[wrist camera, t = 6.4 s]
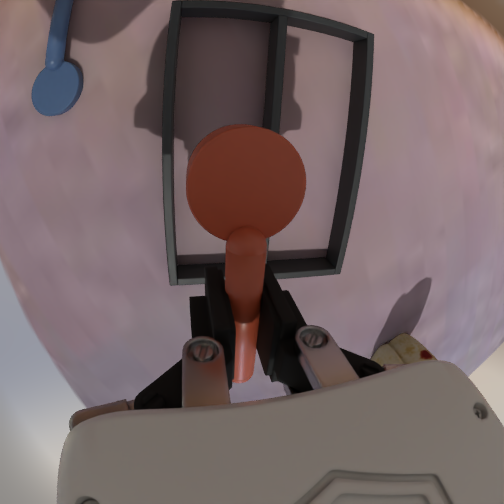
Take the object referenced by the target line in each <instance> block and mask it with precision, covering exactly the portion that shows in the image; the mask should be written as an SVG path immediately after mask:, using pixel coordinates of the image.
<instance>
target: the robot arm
mask: <svg viewBox="0 0 504 504" xmlns="http://www.w3.org/2000/svg"><path fill="white" fill-rule="evenodd" d="M189 298H190V316H191V331H192V339H190V340H189V341H187V342H186V343H185V345H184V346H183V350H182V359H181V360H180V361H179V362H177V363H176V364H175V365H174V366H173V367H171V368H170V369H169V370H168V371H166V372H165V373H164V374H163V375H161V376H160V377H159V378H158V379H156V380H155V381H154V382H153V383H151V384H150V385H149V386H148V387H146V388H145V389H144V390H143V391H141V392H140V393H139V394H138V395H137V396H136V398H135V400H131V401H126V399H124V400H120V401H116V402H113V403H108V404H104V405H100V406H96V407H91V408H87V409H82V410H79V411H77V412H75V413H74V414H73V415H72V416H71V418H70V421H69V428H70V432H69V434H68V436H67V438H66V440H65V443H64V446H63V449H62V453H61V458H60V465H59V472H58V483H57V484H58V485H57V504H504V427H503V425H502V423H501V422H500V420H499V419H498V417H497V416H496V414H495V413H494V411H493V410H492V408H491V407H490V405H489V404H488V403H487V401H486V399H485V398H484V397H483V395H482V394H481V393H480V391H479V390H478V389H477V387H476V386H475V385H474V384H473V382H472V381H471V380H470V379H469V378H468V377H467V375H466V374H465V373H464V372H463V371H462V370H461V369H460V368H458V367H457V366H456V365H455V364H453V363H451V362H447V361H441V360H429V361H420V362H416V363H411V364H383V366H381V365H380V364H378V363H377V362H375V361H373V360H370V359H367V358H365V357H362V356H360V355H357V354H354V353H352V352H349V351H347V350H344V349H342V348H339V346H338V345H337V343H336V342H335V340H334V339H333V337H332V336H331V335H330V333H329V332H328V331H327V330H325V329H324V328H322V327H319V326H314V325H307V324H306V322H305V321H304V319H303V317H302V315H301V313H300V311H299V309H298V308H297V306H296V304H295V302H294V300H293V298H292V296H291V295H290V293H289V291H287V290H284V291H282V289H281V287H280V285H279V283H278V282H277V280H276V278H275V276H274V274H273V272H272V270H271V268H270V266H269V264H265V272H264V282H263V291H262V299H261V308H260V317H259V327H258V336H257V344H256V348H257V351H258V354H259V357H260V361H261V364H262V367H263V370H264V373H265V375H266V376H267V375H269V376H270V379H271V382H275V381H279V382H281V383H283V384H284V385H283V386H284V390H285V393H286V395H287V396H281V397H275V398H269V399H263V400H256V401H249V402H241V403H233V404H231V401H230V394H229V390H230V389H231V388H232V380H234V371H235V345H236V326H235V321H234V317H233V313H232V309H231V305H230V300H229V296H228V294H227V293H226V291H225V280H224V275H223V271H222V269H218V268H217V266H211V267H205V296H195V297H189Z"/></svg>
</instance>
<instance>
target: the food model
mask: <svg viewBox="0 0 504 504" xmlns="http://www.w3.org/2000/svg"><path fill="white" fill-rule="evenodd" d="M371 360H373V361H375V362H377V363H378V364H380V365H381V366H383V364H411V363H416V362H420V361H429V360H437V359H436V358H435V357H434V356H433V355H432V354H431V353H430V352H429V351H428V350H427V349H426V348H425V347H424V346H423V345H422V344H421V343H420V342H418V341H417V340H416V339H414V338H413V337H412V336H410V335H408V334H406V333H402V334H400V335H398V336H397V337H395V338H394V339H393V340H391V341H390V342H389V343H388V344H383V345H382V346H380V347H379V348H378V349H377V351H376V352H375V353H374V355H373V356H372V358H371Z"/></svg>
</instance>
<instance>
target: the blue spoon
mask: <svg viewBox="0 0 504 504" xmlns="http://www.w3.org/2000/svg"><path fill="white" fill-rule="evenodd" d="M73 1H74V0H56V2H55V6H54V10H53V15H52V20H51V25H50V31H49V37H48V44H47V51H46V60H45V66H46V67H45V68H44V69H43V70H42V71H41V72H40V73H39V75H38V76H37V78H36V80H35V82H34V85H33V88H32V102H33V105H34V107H35V109H36V110H37V111H38V112H39V113H40V114H42V115H45V116H55V115H60V114H63V113H65V112H67V111H68V110H70V109H71V108H72V107H73V106H74V105H75V103H76V102H77V101H78V99H79V97H80V95H81V92H82V88H83V76H82V73H81V71H80V69H79V68H78V67H77V66H76V65H75V64H73V63H70V62H67V61H64V55H65V46H66V39H67V32H68V26H69V20H70V15H71V10H72V5H73Z"/></svg>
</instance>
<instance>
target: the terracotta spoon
mask: <svg viewBox="0 0 504 504" xmlns="http://www.w3.org/2000/svg"><path fill="white" fill-rule="evenodd" d="M305 190H306V174H305V169H304V165H303V162H302V159H301V157H300V156H299V154H298V152H297V151H296V149H295V148H294V146H293V145H292V144H291V143H290V142H289V141H288V140H286V139H285V138H284V137H283V136H281V135H279V134H278V133H276V132H274V131H271V130H269V129H265V128H262V127H257V126H253V125H246V124H234V125H228V126H225V127H221V128H219V129H217V130H215V131H213V132H212V133H210V134H208V135H207V136H206V137H205V138H204V139H202V141H201V142H200V143H199V144H198V145H197V146H196V148H195V149H194V151H193V153H192V155H191V157H190V160H189V162H188V167H187V174H186V195H187V200H188V204H189V207H190V210H191V212H192V214H193V215H194V217H195V219H196V220H197V221H198V223H199V224H200V225H201V226H202V227H203V228H204V229H205V230H207V231H208V232H209V233H211V234H212V235H214V236H216V237H218V238H220V239H223V240H226V241H227V242H226V259H225V291H226V293H227V294H228V296H229V300H230V305H231V309H232V313H233V317H234V321H235V326H236V345H235V371H234V380H232V382H235V383H243V382H246V381H247V380H249V379H250V378H251V376H252V375H253V371H254V363H255V354H256V344H257V336H258V327H259V317H260V308H261V299H262V291H263V282H264V272H265V263H266V253H267V242H266V239H267V238H269V237H271V236H273V235H275V234H276V233H278V232H280V231H281V230H282V229H283V228H285V227H286V226H287V225H288V224H289V223H290V222H291V221H292V219H293V218H294V217H295V215H296V214H297V212H298V211H299V209H300V206H301V204H302V202H303V199H304V195H305Z"/></svg>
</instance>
